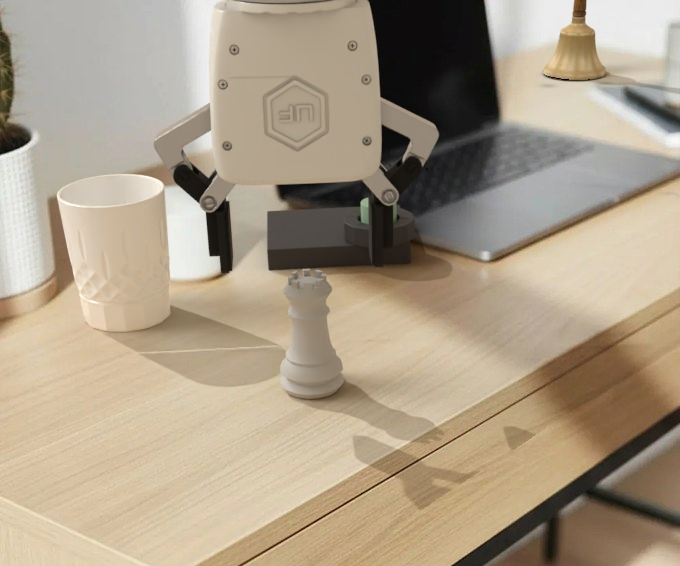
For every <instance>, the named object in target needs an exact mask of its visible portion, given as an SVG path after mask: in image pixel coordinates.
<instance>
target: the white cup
mask: <svg viewBox="0 0 680 566" xmlns="http://www.w3.org/2000/svg"><path fill="white" fill-rule="evenodd" d="M165 186H166V185H165V183H164V182H162V181H161V180H160V179H158V178H156V177H152V176H149V175H143V174H135V173H116V174H115V173H112V174H103V175H96V176H90V177H85V178H82V179H79V180H75V181H73V182H70V183H68V184H66V185H64V186H63V187H61V188H60V189H58V191H57V193H56V199H57V204H58V210H59V214H60V217H61V218H60V219H61V224H62V228H63V233H64V238H65V244H66V249H67V252H68V253H67V254H68V257H69V261H70V265H71V269H72V274H73V278H74V283H75V285H76V288H77V290H78V292H79V293H78V296H79V300H80V305H81V310H82V316H83V320H84V322H85V323H86V324H87V325H89V326H90V327H91V328H92V329H96V330H98V331H103V332H108V333H129V332H136V331H142V330H147V329H149V328H152V327H154V326H157V325H159V324H162V323H163V322H164V321H165V320H166V319H168V317H170V316H171V296H170V295H171V294H170V281H171V271H170V248H169V247H170V245H169V234H168V233H169V232H168V216H167V215H168V214H167V204H166V203H167V201H166V187H165Z"/></svg>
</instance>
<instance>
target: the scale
mask: <svg viewBox="0 0 680 566" xmlns="http://www.w3.org/2000/svg"><path fill="white" fill-rule="evenodd" d="M396 206H397V221H396V222H394V223H393V249H392V250H383V266H386V265H403V264H405V265H406V264H411V263H412V262H411V261H412V250H411V249H412V243H411V241H412V240H413V239H415V236H416V232H415V231H416V230H415V227H416V226H415V225H416V224H415V223H416V222H415V215H414V214H413V213H412V212H411V211H409V210H406V209H405V208H401V205H400V204H396ZM266 243H267V244H266V253H267V255H266V256H267V268H268V271H288V270H302V269H324V268H326V269H327V268H342V267H344V268H345V267H346V268H347V267H366V266H373V265H372V264H371V259H370V254H369V224H364V223H362V222H361V206H345V207H325V208H306V209H305V208H304V209H303V208H302V209H286V210H268V211H267V212H266Z"/></svg>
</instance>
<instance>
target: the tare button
mask: <svg viewBox="0 0 680 566" xmlns="http://www.w3.org/2000/svg"><path fill="white" fill-rule="evenodd" d="M396 205H397V202H396V203H395V204H394V205H393V223H394V222H396V221H397V206H396ZM360 207H361V222H362V223H364V224H369V216H368V197H365V198H363V199H361V201H360Z"/></svg>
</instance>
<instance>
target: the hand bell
mask: <svg viewBox="0 0 680 566" xmlns="http://www.w3.org/2000/svg"><path fill="white" fill-rule="evenodd" d="M587 2H588V1H587V0H574V1H573V8H572V10H573V11H572V14H571V16H572V17H571V22H570V23H569V24H568V25H567V26H564V27H563V28H561V29H560V31H559V37H558V42H557V46H556V49H555V51H554V54H553V56H552V58H551V59H550V61H549V62H548V63H547V64H546V65H545V66H544V67H543V69H542V71H543V72H544V73H545V74H547V75H549V76H552V77H556V78H561V79H569V80H568V81H590V80H597V79H600V78H603V77H605V76H606V75H607V69H606V67H605V65H603V64H602V62H601V60H600V58H599V55H598V52H597V45H596V31H595V29H594V28H592V27H590V26H589V25H588V24H587V23H586V16H587ZM556 78H555V79H556ZM561 79H560V80H561ZM588 79H590V80H588Z"/></svg>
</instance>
